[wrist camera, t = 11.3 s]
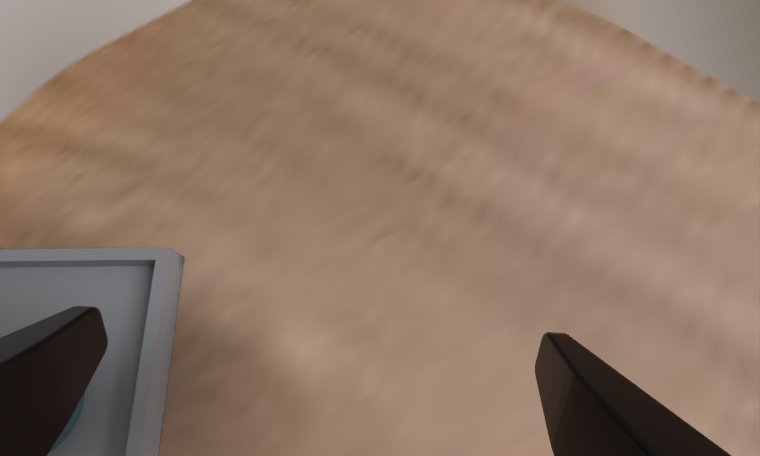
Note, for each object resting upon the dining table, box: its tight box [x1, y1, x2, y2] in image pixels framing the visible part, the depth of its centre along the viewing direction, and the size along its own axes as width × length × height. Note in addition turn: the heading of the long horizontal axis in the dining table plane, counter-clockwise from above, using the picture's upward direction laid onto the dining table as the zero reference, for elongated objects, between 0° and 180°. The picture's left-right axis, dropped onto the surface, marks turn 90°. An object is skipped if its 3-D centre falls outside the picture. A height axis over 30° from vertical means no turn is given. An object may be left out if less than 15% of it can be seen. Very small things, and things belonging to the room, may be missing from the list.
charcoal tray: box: [0, 248, 185, 456], centre depth 20 cm, size 14×12×2 cm
